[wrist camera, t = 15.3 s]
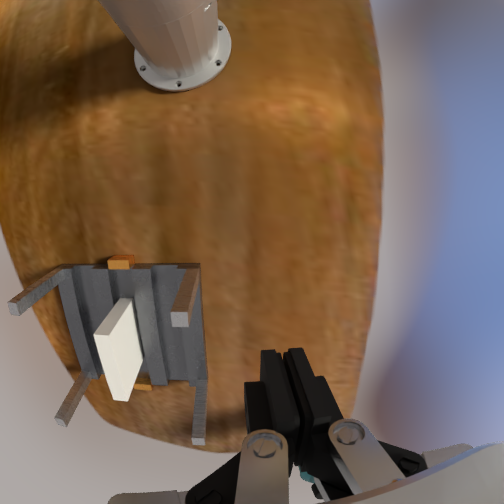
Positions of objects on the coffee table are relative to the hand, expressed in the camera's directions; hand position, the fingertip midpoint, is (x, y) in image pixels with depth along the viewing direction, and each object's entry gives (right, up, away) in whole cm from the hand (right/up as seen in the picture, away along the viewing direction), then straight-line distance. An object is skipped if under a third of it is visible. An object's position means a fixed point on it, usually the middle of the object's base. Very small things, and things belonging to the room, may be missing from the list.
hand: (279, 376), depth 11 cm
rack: (-18, -6, +28) cm, 34 cm away
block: (-18, -6, +27) cm, 34 cm away
